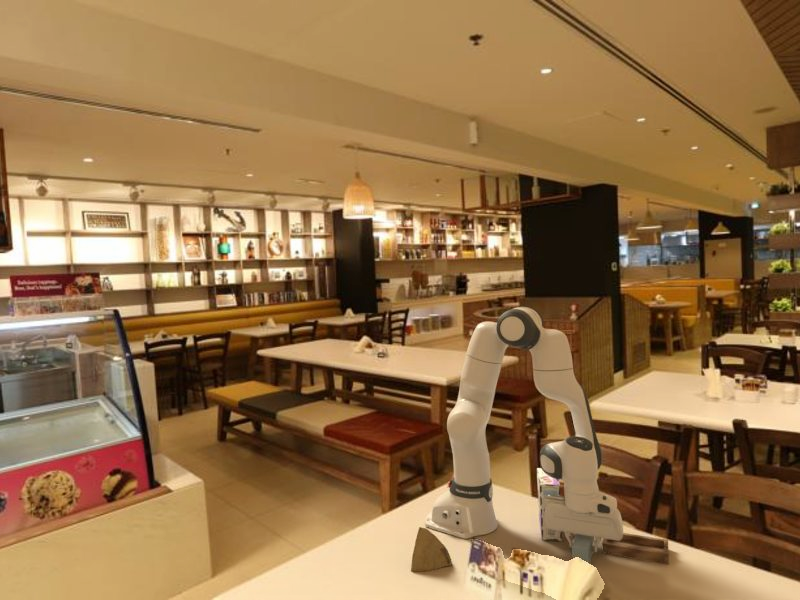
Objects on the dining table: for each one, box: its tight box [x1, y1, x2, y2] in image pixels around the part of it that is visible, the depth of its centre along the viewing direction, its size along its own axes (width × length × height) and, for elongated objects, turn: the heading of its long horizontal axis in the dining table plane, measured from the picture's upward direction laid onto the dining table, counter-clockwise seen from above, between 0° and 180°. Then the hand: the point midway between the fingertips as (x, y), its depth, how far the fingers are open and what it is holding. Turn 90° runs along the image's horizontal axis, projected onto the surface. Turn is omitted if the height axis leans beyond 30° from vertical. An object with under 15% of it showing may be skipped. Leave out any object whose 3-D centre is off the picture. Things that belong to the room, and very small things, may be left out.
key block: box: [571, 534, 595, 564], centre depth 141 cm, size 4×12×5 cm, turn 153°
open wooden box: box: [601, 532, 670, 565], centre depth 142 cm, size 16×8×4 cm, turn 63°
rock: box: [410, 526, 453, 573], centre depth 139 cm, size 11×9×10 cm
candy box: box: [536, 467, 563, 542], centre depth 156 cm, size 14×6×16 cm, turn 168°
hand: (583, 549), depth 141 cm, fingers closed on key block, 4 cm apart
